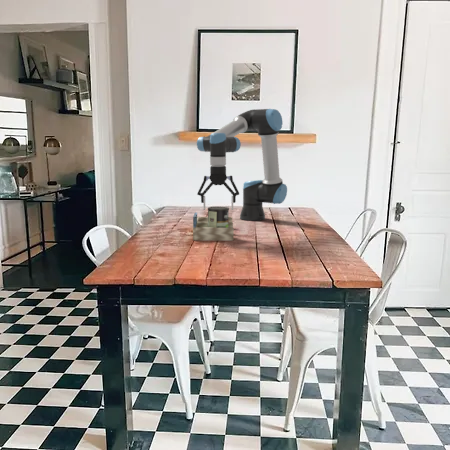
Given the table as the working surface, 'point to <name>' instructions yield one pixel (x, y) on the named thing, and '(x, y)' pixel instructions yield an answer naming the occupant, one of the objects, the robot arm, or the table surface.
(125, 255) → the table surface
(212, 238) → the organizer
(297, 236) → the table surface
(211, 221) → the coffee can
